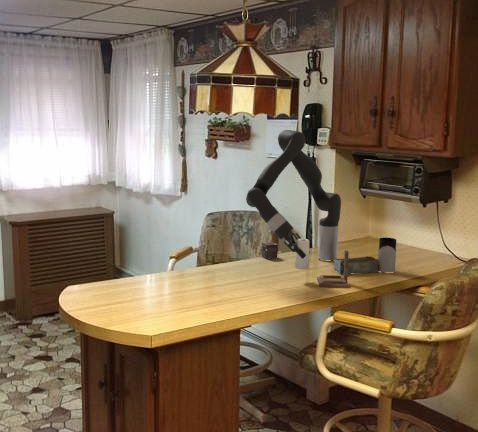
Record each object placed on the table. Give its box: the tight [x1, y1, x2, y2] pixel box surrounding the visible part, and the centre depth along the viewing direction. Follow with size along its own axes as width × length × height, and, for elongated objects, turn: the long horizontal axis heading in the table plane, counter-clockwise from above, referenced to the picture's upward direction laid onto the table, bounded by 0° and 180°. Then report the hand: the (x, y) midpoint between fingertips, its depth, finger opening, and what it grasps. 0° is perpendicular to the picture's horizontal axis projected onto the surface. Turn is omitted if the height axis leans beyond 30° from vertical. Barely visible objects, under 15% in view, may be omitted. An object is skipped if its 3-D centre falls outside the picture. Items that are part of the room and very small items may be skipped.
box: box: [261, 241, 279, 260], centre depth 291 cm, size 6×6×7 cm
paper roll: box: [295, 238, 310, 270], centre depth 248 cm, size 6×6×12 cm
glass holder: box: [377, 237, 397, 272], centre depth 270 cm, size 9×14×15 cm, turn 166°
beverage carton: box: [333, 256, 379, 275], centre depth 266 cm, size 8×19×7 cm, turn 104°
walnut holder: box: [316, 249, 350, 289], centre depth 246 cm, size 12×12×14 cm
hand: (306, 255), depth 247 cm, fingers closed on paper roll, 5 cm apart
